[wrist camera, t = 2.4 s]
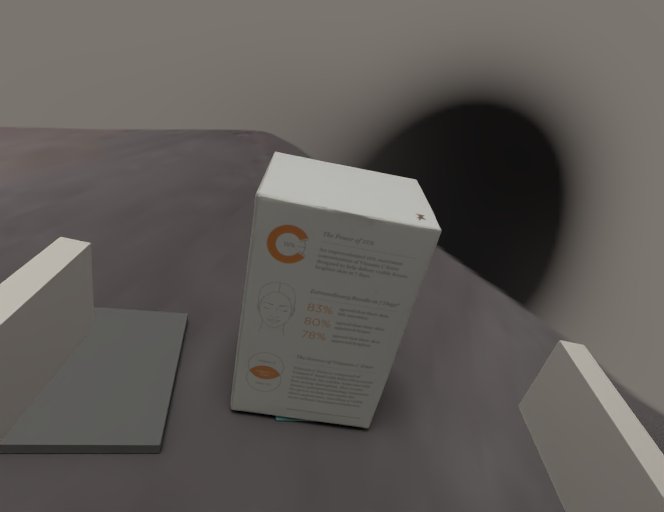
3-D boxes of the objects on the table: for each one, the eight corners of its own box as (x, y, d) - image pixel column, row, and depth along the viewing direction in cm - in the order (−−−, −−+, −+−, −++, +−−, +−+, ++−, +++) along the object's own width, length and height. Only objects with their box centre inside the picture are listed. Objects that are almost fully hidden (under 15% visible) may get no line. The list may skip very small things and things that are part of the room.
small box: (363, 354, 30) (420, 178, 24) (370, 432, 25) (446, 229, 18) (246, 335, 29) (273, 147, 23) (226, 411, 24) (254, 192, 18)
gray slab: (187, 320, 30) (187, 313, 29) (159, 453, 21) (159, 445, 21) (20, 309, 27) (19, 301, 27) (-85, 453, 19) (-89, 444, 19)
